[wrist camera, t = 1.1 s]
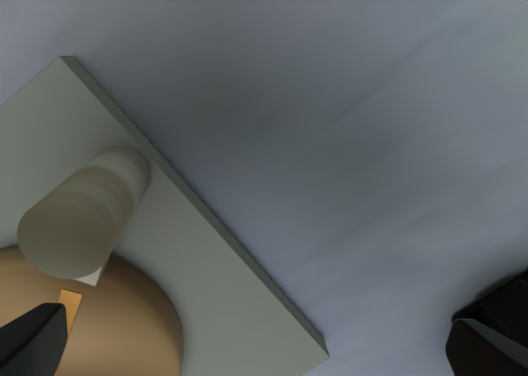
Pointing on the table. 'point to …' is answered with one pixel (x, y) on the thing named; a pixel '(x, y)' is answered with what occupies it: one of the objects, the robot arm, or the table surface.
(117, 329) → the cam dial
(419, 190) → the table surface
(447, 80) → the table surface
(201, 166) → the table surface
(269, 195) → the table surface
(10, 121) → the slate base
